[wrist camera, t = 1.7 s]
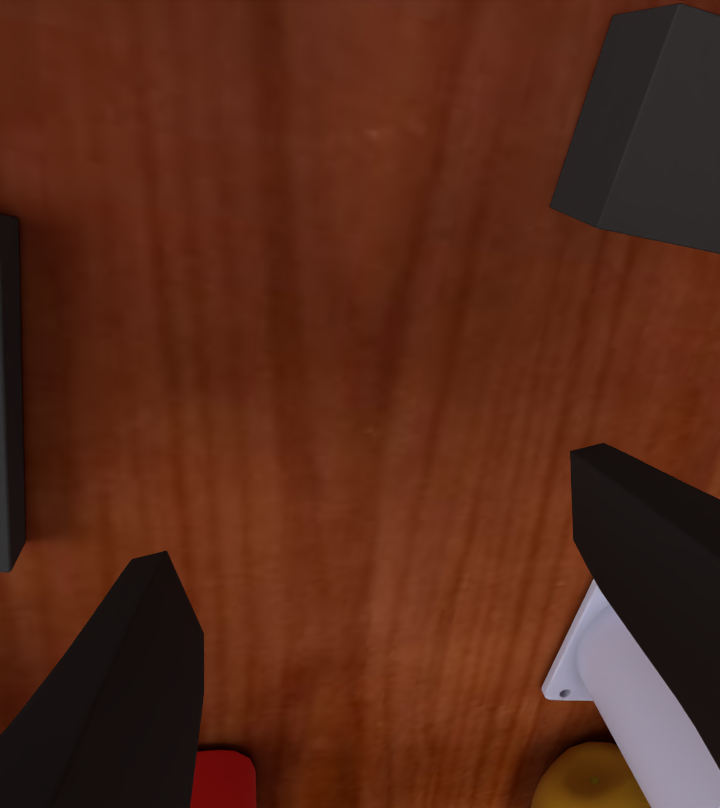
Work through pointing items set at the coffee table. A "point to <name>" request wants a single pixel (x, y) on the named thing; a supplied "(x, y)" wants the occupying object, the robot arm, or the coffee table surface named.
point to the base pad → (10, 399)
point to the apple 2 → (589, 780)
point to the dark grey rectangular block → (651, 131)
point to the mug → (223, 780)
